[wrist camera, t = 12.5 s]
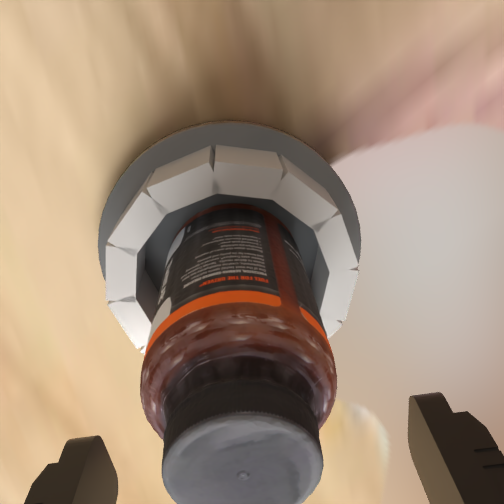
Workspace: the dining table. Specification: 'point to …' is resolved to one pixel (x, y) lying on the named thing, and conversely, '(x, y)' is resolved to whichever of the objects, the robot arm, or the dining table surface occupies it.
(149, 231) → the bottle socket
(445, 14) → the dining table surface
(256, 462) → the supplement bottle
